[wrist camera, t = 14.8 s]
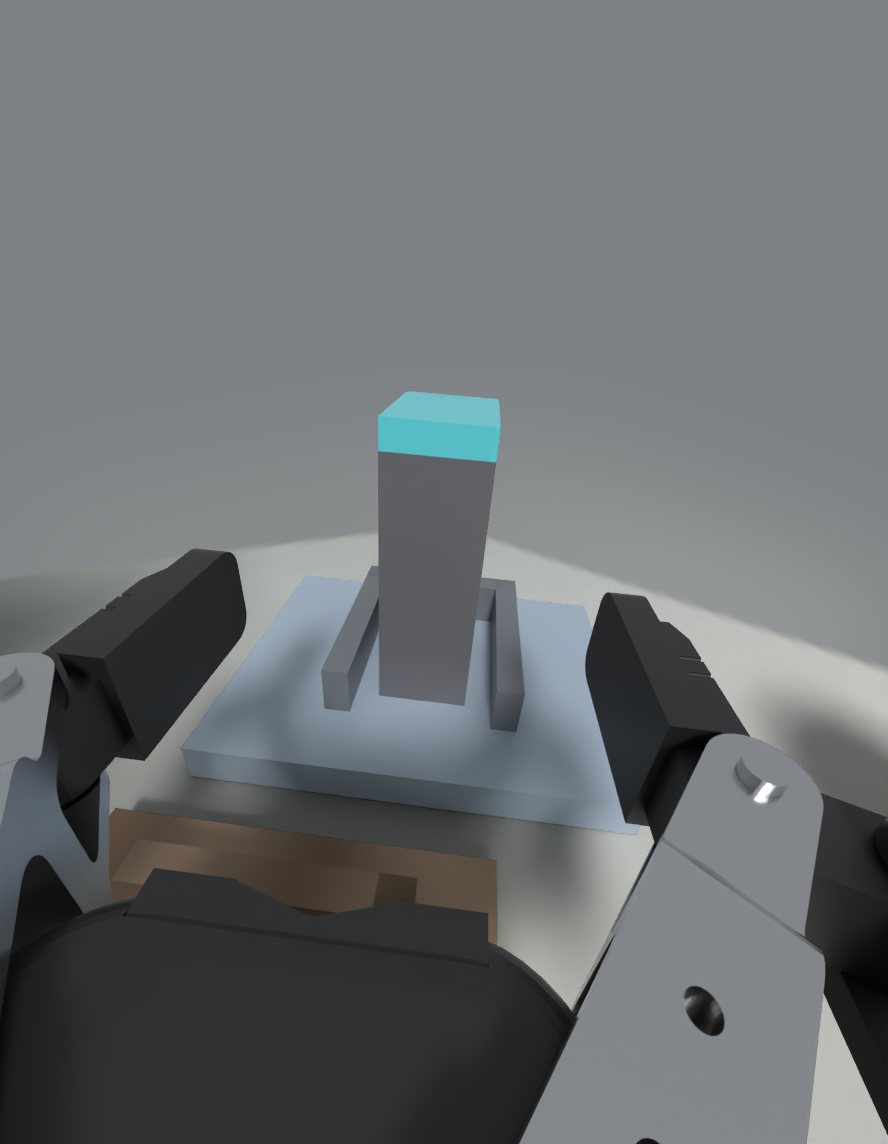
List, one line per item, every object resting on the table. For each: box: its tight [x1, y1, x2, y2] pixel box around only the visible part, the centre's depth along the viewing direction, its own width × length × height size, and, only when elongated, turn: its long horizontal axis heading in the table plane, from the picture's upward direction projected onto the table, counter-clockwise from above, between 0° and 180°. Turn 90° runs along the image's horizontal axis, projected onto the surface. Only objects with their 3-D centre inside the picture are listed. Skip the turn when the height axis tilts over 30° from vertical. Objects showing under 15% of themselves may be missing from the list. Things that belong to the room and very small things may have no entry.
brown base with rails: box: [109, 808, 497, 945], centre depth 8 cm, size 12×12×2 cm
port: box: [181, 566, 641, 835], centre depth 20 cm, size 16×12×4 cm
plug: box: [378, 391, 501, 706], centre depth 18 cm, size 4×5×11 cm
